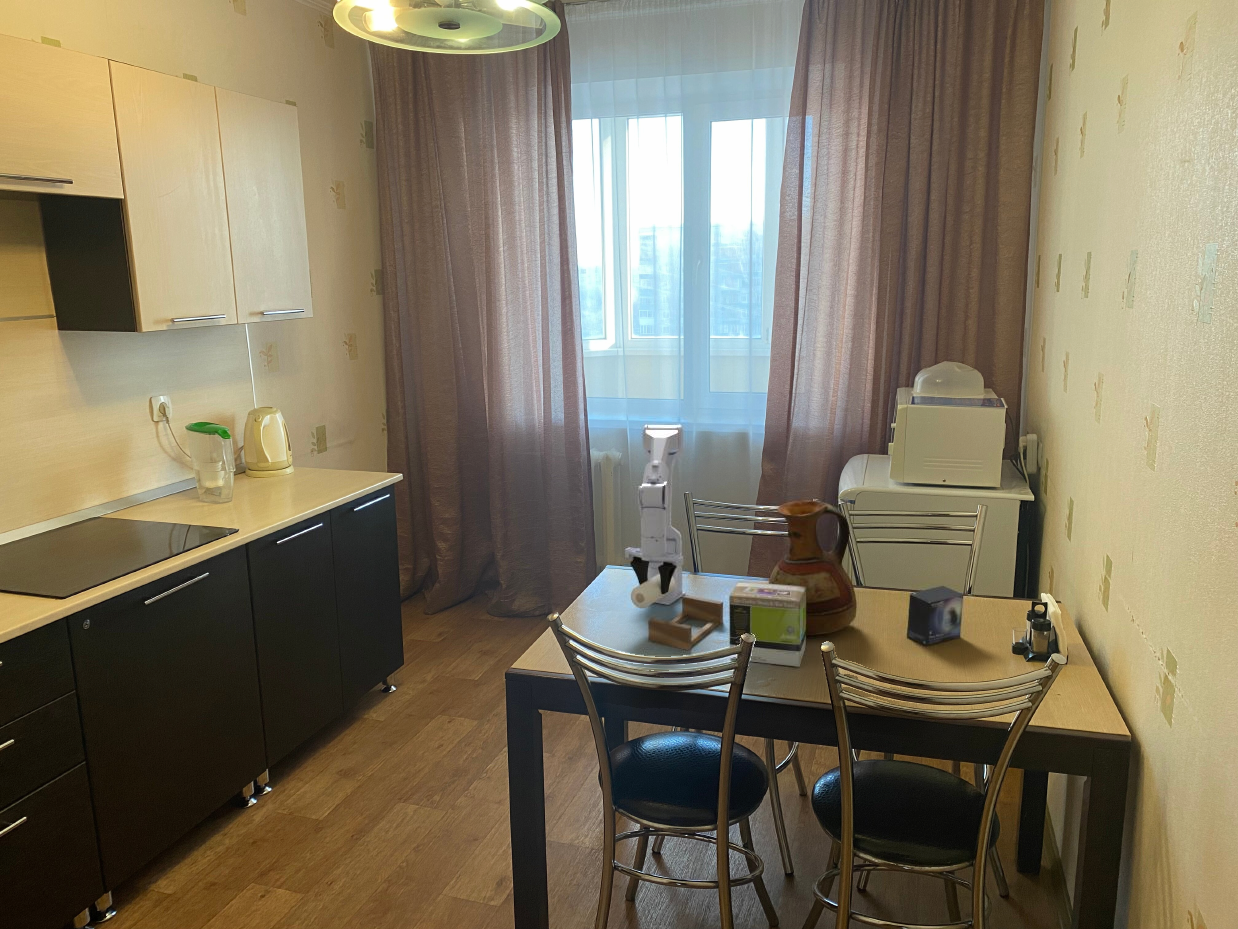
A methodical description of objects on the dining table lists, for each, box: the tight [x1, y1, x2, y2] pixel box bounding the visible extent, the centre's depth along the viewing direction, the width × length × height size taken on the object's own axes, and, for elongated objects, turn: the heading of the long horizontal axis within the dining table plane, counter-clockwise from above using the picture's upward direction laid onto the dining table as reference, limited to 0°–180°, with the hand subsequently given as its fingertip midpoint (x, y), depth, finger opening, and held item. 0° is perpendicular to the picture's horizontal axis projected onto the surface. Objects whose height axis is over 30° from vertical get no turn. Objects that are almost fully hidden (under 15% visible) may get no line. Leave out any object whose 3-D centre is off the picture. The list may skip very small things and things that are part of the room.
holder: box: [647, 594, 724, 651], centre depth 207 cm, size 18×10×5 cm, turn 149°
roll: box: [630, 574, 675, 609], centre depth 209 cm, size 12×5×5 cm, turn 148°
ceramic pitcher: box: [768, 499, 858, 636], centre depth 205 cm, size 20×20×30 cm
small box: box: [906, 585, 965, 647], centre depth 200 cm, size 11×6×10 cm, turn 117°
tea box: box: [728, 580, 807, 668], centre depth 192 cm, size 15×10×15 cm, turn 71°
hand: (654, 590), depth 209 cm, fingers closed on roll, 5 cm apart
